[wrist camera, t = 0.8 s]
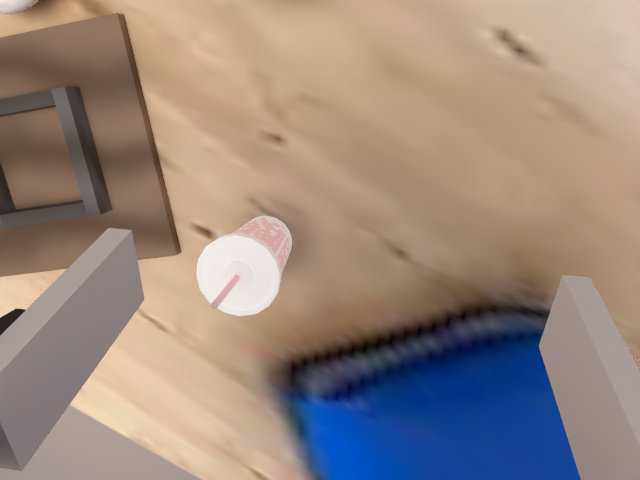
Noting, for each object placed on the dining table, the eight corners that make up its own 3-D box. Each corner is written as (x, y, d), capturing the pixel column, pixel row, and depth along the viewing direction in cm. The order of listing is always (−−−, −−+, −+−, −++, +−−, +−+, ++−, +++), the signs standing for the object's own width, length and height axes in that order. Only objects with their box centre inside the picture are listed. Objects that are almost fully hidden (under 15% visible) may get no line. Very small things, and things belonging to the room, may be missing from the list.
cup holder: (181, 251, 46) (167, 262, 43) (-13, 275, 50) (-37, 287, 47) (123, 15, 41) (103, 9, 38) (-89, 59, 44) (-121, 57, 42)
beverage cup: (221, 221, 45) (150, 277, 32) (283, 196, 44) (237, 243, 30) (250, 283, 46) (194, 361, 33) (311, 260, 45) (279, 332, 32)
